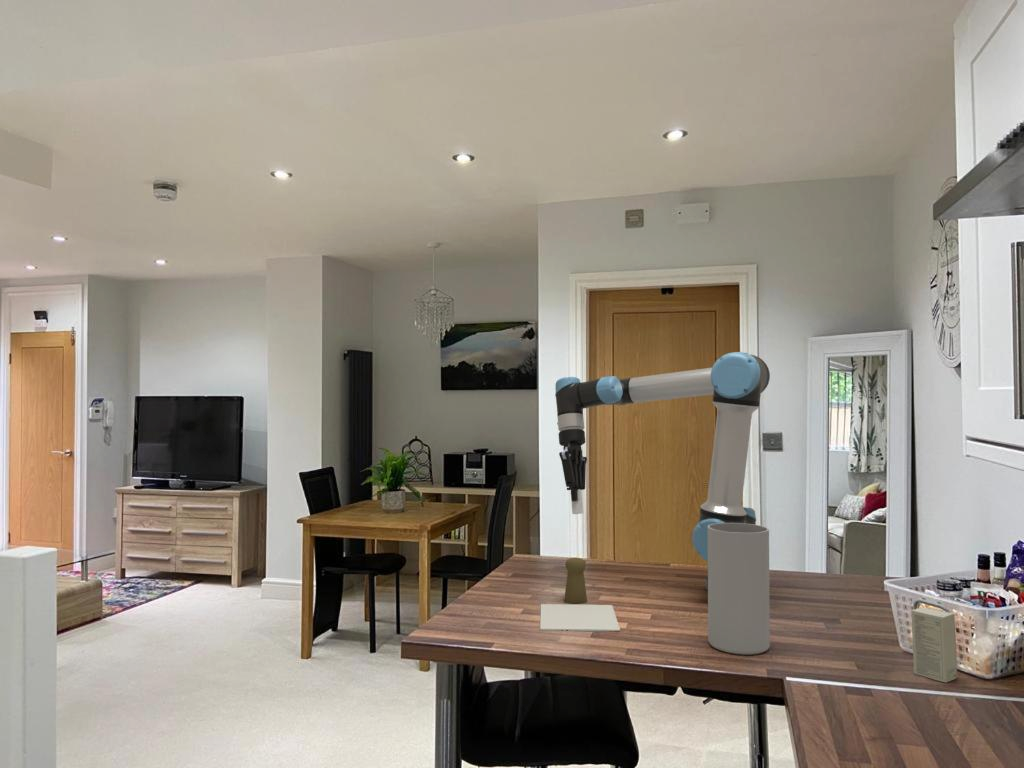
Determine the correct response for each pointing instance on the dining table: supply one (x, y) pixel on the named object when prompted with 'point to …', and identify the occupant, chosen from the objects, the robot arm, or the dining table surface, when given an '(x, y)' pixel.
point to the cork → (575, 581)
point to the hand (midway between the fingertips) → (577, 513)
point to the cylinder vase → (738, 588)
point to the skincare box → (934, 644)
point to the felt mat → (578, 618)
